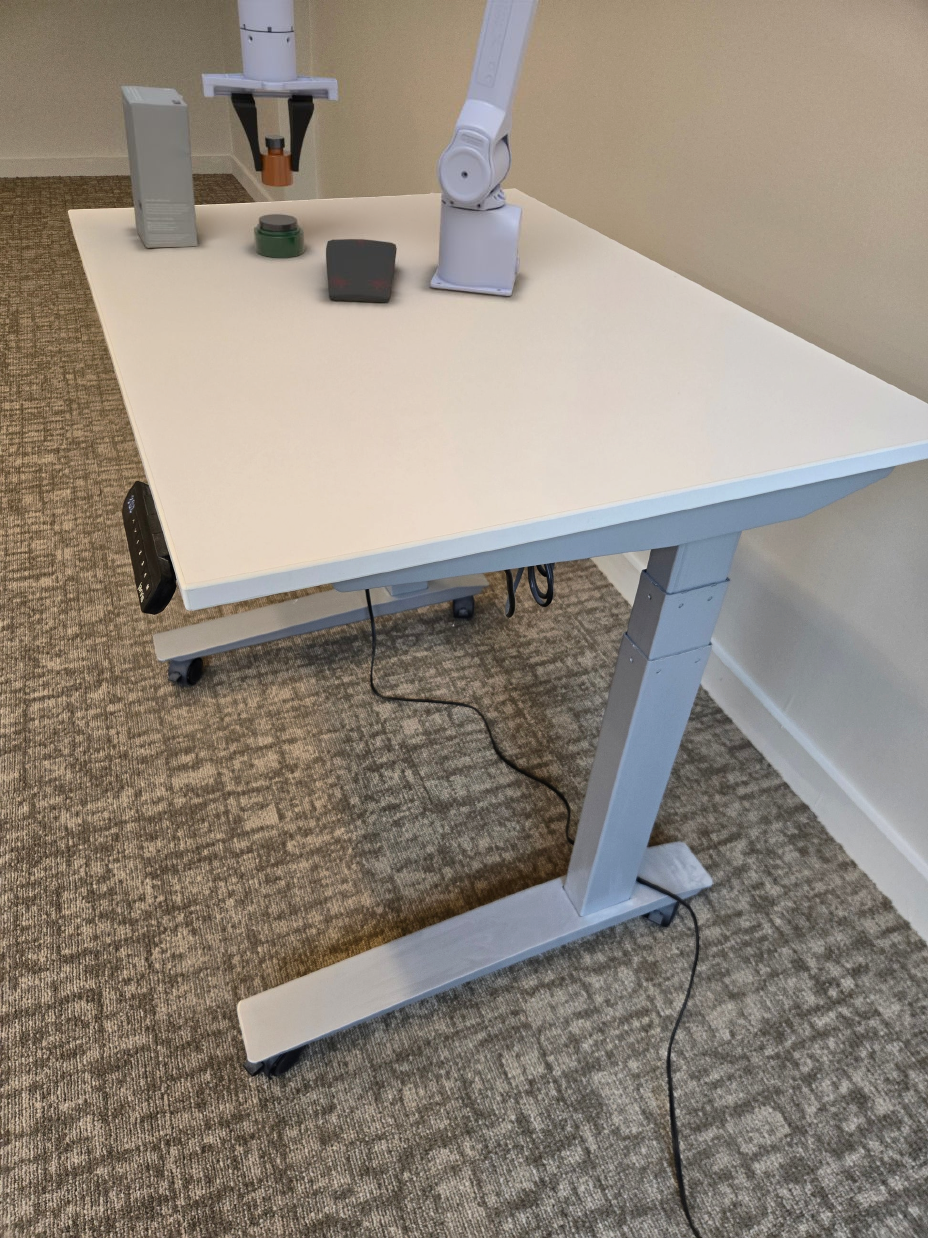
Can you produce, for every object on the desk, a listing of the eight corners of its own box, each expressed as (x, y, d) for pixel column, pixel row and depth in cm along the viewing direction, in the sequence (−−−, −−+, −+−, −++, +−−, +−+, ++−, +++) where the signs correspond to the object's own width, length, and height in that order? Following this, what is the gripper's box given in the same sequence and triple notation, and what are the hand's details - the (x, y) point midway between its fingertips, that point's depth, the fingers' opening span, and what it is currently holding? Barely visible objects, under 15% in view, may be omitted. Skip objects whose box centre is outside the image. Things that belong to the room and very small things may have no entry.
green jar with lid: (310, 245, 110) (308, 215, 107) (297, 260, 105) (295, 228, 103) (263, 240, 110) (261, 210, 108) (248, 254, 105) (245, 223, 103)
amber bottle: (298, 181, 103) (295, 135, 100) (285, 188, 100) (282, 141, 97) (269, 177, 103) (266, 131, 100) (256, 184, 101) (253, 137, 98)
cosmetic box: (135, 229, 110) (111, 84, 100) (193, 226, 112) (175, 84, 102) (145, 250, 104) (120, 98, 94) (205, 246, 107) (188, 98, 96)
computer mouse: (396, 264, 106) (396, 229, 104) (396, 303, 96) (396, 266, 93) (329, 260, 106) (328, 225, 103) (322, 300, 95) (320, 263, 93)
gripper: (197, 30, 88) (213, 177, 96) (341, 37, 91) (343, 178, 100) (195, 22, 93) (210, 162, 101) (331, 28, 96) (334, 163, 105)
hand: (276, 169), depth 101 cm, fingers closed on amber bottle, 3 cm apart
